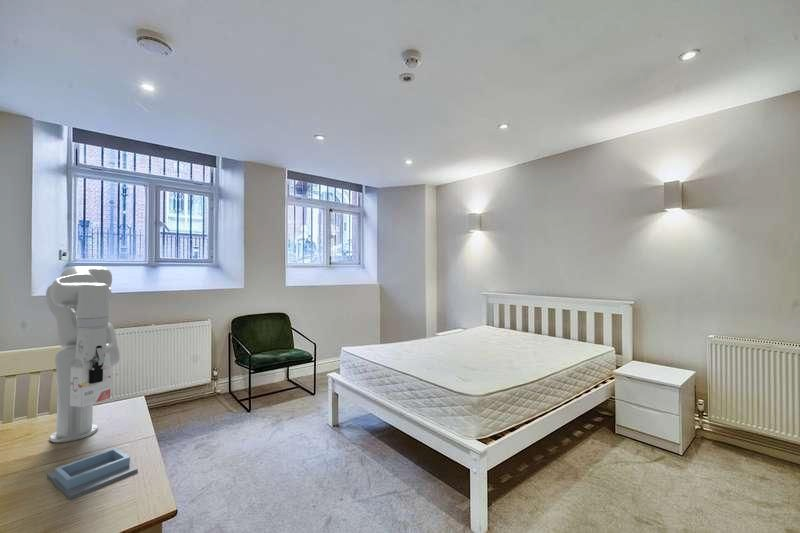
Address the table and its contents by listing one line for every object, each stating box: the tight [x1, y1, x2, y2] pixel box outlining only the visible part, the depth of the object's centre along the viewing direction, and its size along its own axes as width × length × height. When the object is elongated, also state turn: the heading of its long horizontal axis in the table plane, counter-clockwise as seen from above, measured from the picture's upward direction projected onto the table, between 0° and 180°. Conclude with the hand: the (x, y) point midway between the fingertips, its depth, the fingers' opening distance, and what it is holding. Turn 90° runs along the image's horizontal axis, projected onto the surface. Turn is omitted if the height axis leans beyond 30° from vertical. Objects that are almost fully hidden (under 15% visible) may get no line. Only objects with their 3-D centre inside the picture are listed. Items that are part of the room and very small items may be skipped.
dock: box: [46, 447, 139, 501], centre depth 101 cm, size 18×15×4 cm
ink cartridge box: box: [70, 353, 112, 407], centre depth 108 cm, size 9×5×15 cm, turn 167°
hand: (91, 380), depth 108 cm, fingers closed on ink cartridge box, 6 cm apart
